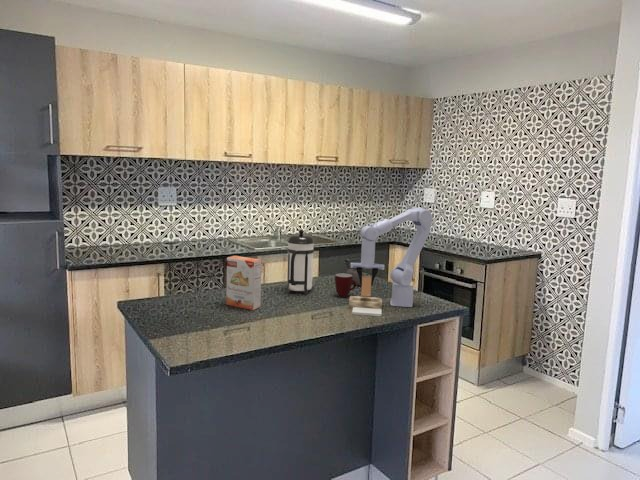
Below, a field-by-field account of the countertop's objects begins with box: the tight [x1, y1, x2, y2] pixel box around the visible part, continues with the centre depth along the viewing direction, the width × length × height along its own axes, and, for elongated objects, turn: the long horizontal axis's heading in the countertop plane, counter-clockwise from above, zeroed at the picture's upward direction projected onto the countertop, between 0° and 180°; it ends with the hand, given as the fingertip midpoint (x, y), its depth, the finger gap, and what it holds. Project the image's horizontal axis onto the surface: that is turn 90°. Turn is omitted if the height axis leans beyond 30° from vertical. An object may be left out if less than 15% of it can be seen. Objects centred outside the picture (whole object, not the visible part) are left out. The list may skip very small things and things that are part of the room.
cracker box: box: [226, 255, 262, 311], centre depth 199 cm, size 14×6×21 cm, turn 62°
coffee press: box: [284, 229, 315, 296], centre depth 224 cm, size 17×16×30 cm
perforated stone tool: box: [345, 268, 362, 287], centre depth 245 cm, size 15×5×7 cm, turn 28°
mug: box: [334, 272, 357, 298], centre depth 222 cm, size 11×8×10 cm
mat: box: [351, 307, 383, 317], centre depth 198 cm, size 12×7×1 cm, turn 83°
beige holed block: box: [348, 295, 383, 309], centre depth 207 cm, size 14×9×3 cm, turn 83°
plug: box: [360, 274, 372, 297], centre depth 206 cm, size 4×4×8 cm
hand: (366, 284), depth 206 cm, fingers closed on plug, 4 cm apart
